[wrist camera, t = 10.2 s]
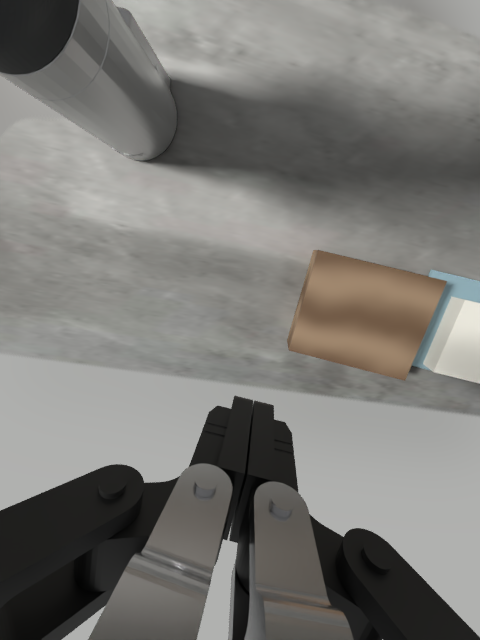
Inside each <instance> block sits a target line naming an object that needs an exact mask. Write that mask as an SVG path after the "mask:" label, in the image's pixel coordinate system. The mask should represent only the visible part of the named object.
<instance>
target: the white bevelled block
mask: <svg viewBox="0 0 480 640" xmlns="http://www.w3.org/2000/svg"><path fill="white" fill-rule="evenodd" d="M423 365H425V366H426V367H427V368H429V369H430V370H431V371H433V372H435V373H439V374H443V375H447V376H451V377H455V378H459V379H463V380H467V381H471V382H475V383H479V384H480V303H477V302H473V301H469V300H465V299H460V298H456V297H452V296H451V299H450V301H449V303H448V306H447V308H446V310H445V313H444V315H443V317H442V320H441V322H440V325H439V327H438V329H437V332H436V334H435V336H434V339H433V341H432V343H431V346H430V348H429V350H428V353H427V355H426V358H425V360H424V362H423Z"/></svg>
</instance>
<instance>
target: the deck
mask: <svg viewBox="0 0 480 640" xmlns="http://www.w3.org/2000/svg"><path fill="white" fill-rule="evenodd" d="M446 283H447V281H445V280H440V279H436V278H432V277H428V276H424V275H420V274H415V273H411V272H407V271H403V270H399V269H395V268H391V267H386V266H382V265H378V264H374V263H370V262H366V261H361V260H357V259H353V258H349V257H345V256H341V255H336V254H332V253H328V252H324V251H320V250H314V251H313V254H312V257H311V261H310V264H309V268H308V271H307V275H306V278H305V281H304V285H303V288H302V292H301V295H300V298H299V302H298V305H297V309H296V312H295V315H294V319H293V322H292V326H291V329H290V332H289V336H288V339H287V342H288V348H289V350H290V351H294V352H297V353H301V354H305V355H309V356H313V357H317V358H320V359H324V360H328V361H332V362H336V363H339V364H343V365H347V366H351V367H355V368H359V369H362V370H366V371H370V372H374V373H378V374H382V375H385V376H389V377H393V378H397V379H401V380H405V379H406V377H407V375H408V372H409V370H410V368H411V365H412V363H413V361H414V358H415V356H416V354H417V351H418V349H419V347H420V344H421V342H422V339H423V337H424V335H425V332H426V330H427V328H428V325H429V323H430V321H431V318H432V316H433V314H434V311H435V309H436V307H437V304H438V302H439V299H440V297H441V295H442V292H443V290H444V288H445V285H446Z"/></svg>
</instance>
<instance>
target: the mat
mask: <svg viewBox="0 0 480 640" xmlns="http://www.w3.org/2000/svg"><path fill="white" fill-rule="evenodd" d="M428 277H432V278H436V279H440V280H445V281H447V283H446V285H445V288H444V290H443V292H442V295H441V297H440V299H439V302H438V304H437V307H436V309H435V311H434V314H433V316H432V318H431V321H430V323H429V325H428V328H427V330H426V332H425V335H424V337H423V339H422V342H421V344H420V347H419V349H418V351H417V354H416V356H415V358H414V361H413V363H412V366H415V367H419V368H423V369H427V370H430V369H429V368H427V367H426V366H425V365H423V362H424V360H425V358H426V355H427V353H428V350H429V348H430V346H431V343H432V341H433V339H434V336H435V334H436V332H437V329H438V327H439V325H440V322H441V320H442V317H443V315H444V313H445V310H446V308H447V306H448V303H449V301H450V299H451V296H452V297H456V298H460V299H465V300H469V301H473V302H477V303H480V281H477V280H473V279H468V278H464V277H460V276H456V275H452V274H447V273H443V272H439V271H435V270H430V273H429V275H428Z"/></svg>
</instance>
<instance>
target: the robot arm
mask: <svg viewBox="0 0 480 640" xmlns="http://www.w3.org/2000/svg"><path fill="white" fill-rule="evenodd" d="M0 75H1V76H2V77H4V78H5V79H7V80H8V81H10V82H11V83H13V84H14V85H16V86H17V87H19V88H20V89H22V90H24V91H25V92H27V93H28V94H30V95H31V96H33V97H34V98H36V99H38V100H39V101H41V102H42V103H44V104H46V105H47V106H48V107H50V108H51V109H53V110H55V111H56V112H58V113H59V114H61V115H62V116H64V117H65V118H67V119H68V120H70V121H71V122H73V123H75V124H76V125H78V126H79V127H81V128H82V129H84V130H85V131H87V132H88V133H90V134H91V135H93V136H95V137H96V138H98V139H99V140H101V141H102V142H104V143H105V144H107V145H108V146H110V147H111V148H112V149H114V150H115V151H117V152H119V153H121V154H123V155H124V156H126V157H128V158H130V159H133V160H140V161H143V160H150V159H152V158H155V157H157V156H158V155H160V154H161V153H163V152H164V151H165V150H166V148H167V147H168V146H169V145H170V143H171V141H172V139H173V137H174V134H175V131H176V126H177V110H176V105H175V101H174V99H173V97H172V94H171V91H170V81H171V80H170V78H169V76H168V74H167V73H166V71H165V69H164V68H163V66H162V64H161V63H160V61H159V59H158V58H157V56H156V54H155V53H154V51H153V49H152V47H151V46H150V44H149V42H148V41H147V39H146V37H145V36H144V34H143V32H142V31H141V29H140V27H139V26H138V24H137V22H136V20H135V19H134V17H133V15H132V14H131V12H130V11H128V10H127V9H125V8H121V7H116V6H115V4H114V3H113V1H112V0H0ZM252 406H253V407H252ZM231 523H232V525H231ZM230 527H231V533H230V541H233V542H237V543H238V547H237V556H236V561H235V564H234V568H233V571H232V578H231V598H230V599H231V600H230V618H229V637H228V640H382V639H383V640H480V637H479V636H478V635H477V634H476V633H475V632H474V631H473V630H472V629H471V628H470V627H469V626H468V625H467V624H466V623H465V622H464V621H463V620H462V619H461V618H460V617H459V616H458V615H457V614H456V613H455V612H454V610H453V609H452V608H451V607H450V606H449V605H448V604H447V603H446V602H445V601H444V600H443V599H442V598H441V597H440V596H439V595H438V594H437V593H436V592H435V591H434V590H433V589H432V588H431V587H430V586H429V585H428V584H427V583H426V581H425V580H424V579H423V578H422V577H421V576H420V575H419V574H418V573H417V572H416V571H415V570H414V569H413V568H412V567H411V566H410V565H409V564H408V563H407V562H406V561H405V560H404V559H403V558H402V557H401V556H400V555H399V554H398V553H397V551H396V550H395V549H394V548H393V547H392V546H391V545H390V544H389V543H388V542H386V541H385V540H384V539H382V538H381V537H380V536H378V535H377V534H375V533H373V532H371V531H368V530H365V529H360V528H356V529H351V530H349V531H348V532H347V533H346V534H345V536H344V537H342V536H341V535H339V534H337V533H336V532H334V531H332V530H330V529H329V528H327V527H325V526H324V525H322V524H321V523H319V522H318V521H317V520H315V519H314V518H313V517H312V516H311V515H310V514H309V511H308V507H307V505H306V503H305V501H304V499H303V498H302V497H301V495H300V494H299V493H298V486H297V477H296V468H295V459H294V450H293V441H292V433H291V431H290V430H289V428H288V426H287V425H286V423H285V422H281V421H277V420H274V406H273V405H270V404H266V403H262V402H258V401H254V403H253V400H250V399H245V398H242V397H238V396H234V400H233V404H232V409H229V408H225V407H221V406H216V407H215V408H214V409H213V410H212V411H210V412H209V414H208V417H207V420H206V422H205V425H204V427H203V431H202V433H201V436H200V438H199V441H198V444H197V447H196V449H195V452H194V455H193V457H192V460H191V463H190V465H189V467H188V468H187V469H185V470H184V471H183V472H182V474H181V475H180V476H179V477H178V478H175V479H173V480H170V481H166V482H156V483H144V481H143V478H142V476H141V474H140V473H139V472H138V471H137V470H135V469H134V468H132V467H130V466H127V465H117V464H116V465H109V466H105V467H103V468H100V469H98V470H95V471H93V472H90V473H88V474H86V475H84V476H81V477H79V478H76V479H74V480H72V481H69V482H67V483H65V484H62V485H60V486H58V487H55V488H53V489H50V490H48V491H46V492H44V493H41V494H39V495H36V496H34V497H32V498H29V499H27V500H25V501H22V502H20V503H17V504H15V505H13V506H10V507H8V508H6V509H3V510H1V511H0V640H61V639H63V638H64V637H65V636H66V635H68V634H69V633H70V632H72V631H73V630H74V629H75V628H77V627H78V626H79V625H81V624H82V623H83V622H84V621H86V620H87V619H88V618H90V617H91V616H92V615H94V614H95V613H96V612H97V611H99V610H100V609H101V608H102V607H104V606H105V605H106V604H107V605H106V607H105V608H104V610H103V612H102V614H101V616H100V618H99V620H98V622H97V624H96V626H95V627H94V629H93V631H92V633H91V635H90V637H89V639H88V640H196V639H197V635H198V631H199V627H200V623H201V619H202V615H203V611H204V606H205V603H206V599H207V595H208V590H209V586H210V582H211V577H212V573H213V569H214V566H215V564H216V562H217V559H218V555H219V552H220V548H221V544H222V540H223V539H225V540H227V538H228V534H229V531H230Z"/></svg>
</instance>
